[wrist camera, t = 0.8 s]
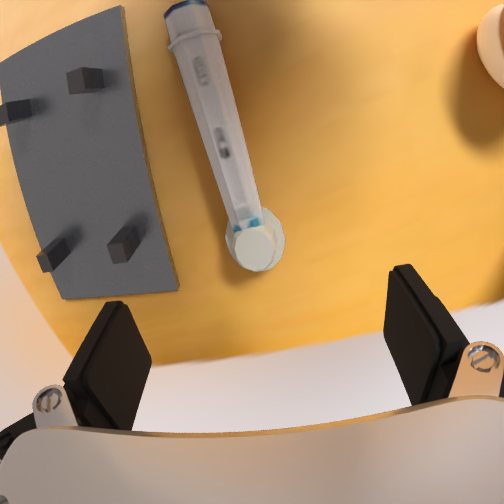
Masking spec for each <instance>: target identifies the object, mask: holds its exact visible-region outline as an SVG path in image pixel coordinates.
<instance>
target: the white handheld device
mask: <svg viewBox="0 0 504 504" xmlns="http://www.w3.org/2000/svg"><path fill="white" fill-rule="evenodd" d="M163 15H164V18H165V22H166V26H167V30H168V33H169V37H170V41H171V44H170V45H169V46H168V50H169V51H170V52H172V53H173V54H174V55H175V57H176V60H177V64H178V67H179V70H180V73H181V76H182V79H183V82H184V85H185V88H186V91H187V94H188V97H189V100H190V104H191V107H192V110H193V113H194V116H195V119H196V122H197V125H198V128H199V131H200V134H201V137H202V140H203V143H204V146H205V149H206V152H207V155H208V158H209V161H210V164H211V167H212V170H213V173H214V176H215V179H216V182H217V185H218V188H219V191H220V194H221V197H222V200H223V203H224V206H225V209H226V212H227V215H228V218H229V220H228V223H227V229H226V235H225V240H226V243H227V246H228V249H229V253H230V255H231V256H232V257H233V258H234V260H235V261H236V262H237V263H238V264H239V265H240V266H241V267H242V268H245V269H248V270H251V271H254V272H261V271H265V270H269V269H272V268H273V267H274V265H275V264H276V263H277V262H278V261H279V260H280V259H281V258H282V254H283V250H284V245H285V238H284V234H283V230H282V226H281V222H280V221H279V220H278V219H277V218H276V216H275V215H274V214H273V213H272V212H271V211H270V209H267V208H265V207H262V206H261V203H260V199H259V195H258V190H257V186H256V182H255V178H254V174H253V170H252V166H251V162H250V158H249V154H248V150H247V146H246V142H245V138H244V134H243V130H242V126H241V122H240V119H239V115H238V111H237V107H236V103H235V99H234V95H233V91H232V88H231V84H230V80H229V76H228V72H227V69H226V65H225V61H224V57H223V54H222V50H221V46H220V42H219V41H221V40H222V39H223V38H222V35H221V33H220V31H219V29H215V26H214V23H213V19H212V16H211V13H210V10H209V7H208V5H207V2H206V0H187V1H184V2H181V3H178V4H175V5H172V6H171V7H170V8H169V9H168V10H167V11H166V12H165V13H164V14H163Z"/></svg>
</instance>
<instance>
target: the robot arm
mask: <svg viewBox="0 0 504 504" xmlns="http://www.w3.org/2000/svg"><path fill="white" fill-rule="evenodd" d="M383 333H384V338H385V341H386V343H387V346H388V348H389V350H390V353H391V355H392V357H393V360H394V362H395V365H396V367H397V369H398V372H399V374H400V377H401V379H402V381H403V384H404V387H405V389H406V392H407V394H408V397H409V399H410V402H411V405H412V406H410V407H405V408H401V409H397V410H392V411H388V412H383V413H378V414H373V415H369V416H363V417H358V418H353V419H348V420H342V421H336V422H330V423H323V424H317V425H309V426H301V427H292V428H283V429H274V430H273V429H272V430H261V431H246V432H225V433H163V432H142V431H131V430H132V427H133V423H134V420H135V417H136V413H137V409H138V406H139V403H140V400H141V396H142V393H143V390H144V387H145V383H146V380H147V377H148V374H149V371H150V368H151V363H152V361H151V356H150V354H149V352H148V350H147V348H146V345H145V343H144V341H143V339H142V337H141V335H140V332H139V330H138V328H137V326H136V323H135V321H134V319H133V317H132V314H131V312H130V310H129V307H128V306H127V305H126V304H124V303H123V302H122V301H110V302H106V303H105V305H104V306H103V308H102V310H101V311H100V313H99V315H98V316H97V318H96V320H95V322H94V323H93V325H92V327H91V328H90V330H89V332H88V334H87V335H86V337H85V339H84V341H83V342H82V344H81V346H80V348H79V350H78V351H77V353H76V355H75V357H74V359H73V361H72V362H71V364H70V366H69V368H68V370H67V372H66V374H65V376H64V378H63V381H64V382H65V384H64V386H63V387H62V386H60V385H50V386H47V387H45V388H43V389H42V390H40V391H39V393H38V394H37V395H36V396H35V398H34V400H33V404H32V405H33V413H31V414H29V415H28V416H26V417H24V418H22V419H21V420H19V421H17V422H16V423H14V424H12V425H10V426H9V427H7V428H5V429H4V430H2V431H1V432H0V504H504V356H503V353H502V352H501V351H500V349H499V348H498V347H496V346H495V345H493V344H491V343H488V342H483V341H479V342H474V343H471V344H470V343H469V342H468V340H467V338H466V337H465V335H464V334H463V333H462V331H461V330H460V328H459V327H458V325H457V324H456V322H455V321H454V319H453V318H452V316H451V315H450V313H449V312H448V311H447V309H446V308H445V306H444V305H443V304H442V302H441V301H440V299H439V298H438V297H436V296H434V294H433V293H432V292H431V290H430V289H429V288H428V286H427V285H426V284H425V282H424V281H423V280H422V278H421V277H420V276H419V274H418V273H417V272H416V270H415V269H414V268H413V266H412V265H411V264H404V265H398V266H395V267H394V269H393V271H390V272H389V278H388V290H387V301H386V311H385V321H384V329H383Z"/></svg>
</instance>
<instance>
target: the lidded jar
mask: <svg viewBox="0 0 504 504" xmlns="http://www.w3.org/2000/svg"><path fill="white" fill-rule="evenodd" d="M476 44H477V51H478V54H479V57H480V59H481V61H482V63H483V65H484V66H485V68H486V70H487V71H488V73H489V74H490V76H491V77H492V78H493V79H494V80H495V81H496V82H497V83H498V84H499V85H500V86H501V87H502V88H504V3H503V4H500V5H498V6H496V7H493V8H492V9H490V10H489V11H488V12H487V13H485V15H484V16H483V17H482V19H481V20H480V23H479V26H478V29H477V41H476Z"/></svg>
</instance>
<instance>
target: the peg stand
mask: <svg viewBox="0 0 504 504" xmlns="http://www.w3.org/2000/svg"><path fill="white" fill-rule="evenodd" d="M0 89H1V96H2V103H3V104H2V105H1V106H0V127H1V126H4V125H6V127H7V132H8V137H9V142H10V147H11V151H12V155H13V160H14V164H15V168H16V172H17V175H18V179H19V183H20V186H21V190H22V193H23V197H24V200H25V203H26V207H27V210H28V213H29V216H30V219H31V222H32V225H33V228H34V231H35V234H36V236H37V239H38V242H39V244H40V247H41V250H42V251H41V252H40V253H39V254H38V255H37V256H36V257H37V259H38V262H39V264H40V267H41V269H42V271H43V273H44V272H51V275H52V277H53V279H54V282H55V284H56V286H57V289H58V291H59V293H60V295H61V297H62V299H75V298H90V297H104V296H117V295H130V294H142V293H154V292H166V291H177V290H178V289H179V286H180V284H179V281H178V277H177V274H176V270H175V267H174V263H173V259H172V256H171V252H170V248H169V244H168V241H167V237H166V233H165V229H164V225H163V221H162V217H161V213H160V209H159V204H158V200H157V196H156V192H155V187H154V183H153V178H152V174H151V169H150V165H149V160H148V155H147V150H146V145H145V140H144V135H143V130H142V125H141V120H140V114H139V109H138V103H137V97H136V91H135V85H134V79H133V72H132V66H131V59H130V52H129V44H128V37H127V29H126V20H125V11H124V7H123V6H121V5H119V6H116V7H114V8H111V9H108V10H105V11H103V12H100V13H98V14H95V15H92V16H90V17H88V18H85V19H83V20H80V21H78V22H76V23H74V24H71V25H69V26H67V27H65V28H63V29H61V30H58V31H56V32H54V33H52V34H50V35H48V36H46V37H44V38H42V39H41V40H39V41H37V42H35V43H33V44H31V45H29V46H28V47H26V48H24V49H22V50H21V51H19V52H17V53H15V54H14V55H12V56H10V57H9V58H7V59H6V60H4V61H2V62H1V63H0Z"/></svg>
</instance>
